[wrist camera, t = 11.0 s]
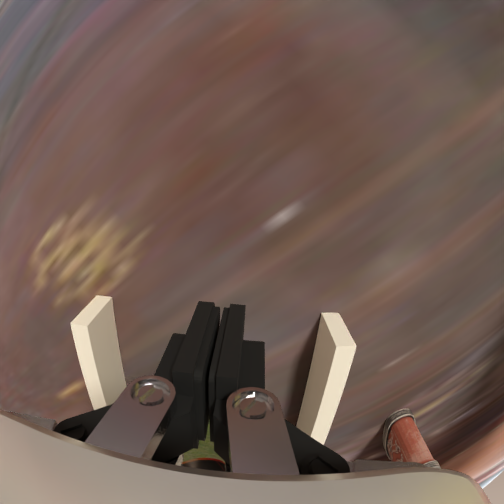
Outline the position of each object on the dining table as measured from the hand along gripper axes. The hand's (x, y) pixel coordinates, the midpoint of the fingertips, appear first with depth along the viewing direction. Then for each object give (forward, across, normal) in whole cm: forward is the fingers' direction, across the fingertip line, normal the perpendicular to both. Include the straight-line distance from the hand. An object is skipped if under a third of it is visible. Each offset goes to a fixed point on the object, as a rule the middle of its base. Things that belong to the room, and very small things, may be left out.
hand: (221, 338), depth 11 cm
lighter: (+9, -17, +17) cm, 25 cm away
